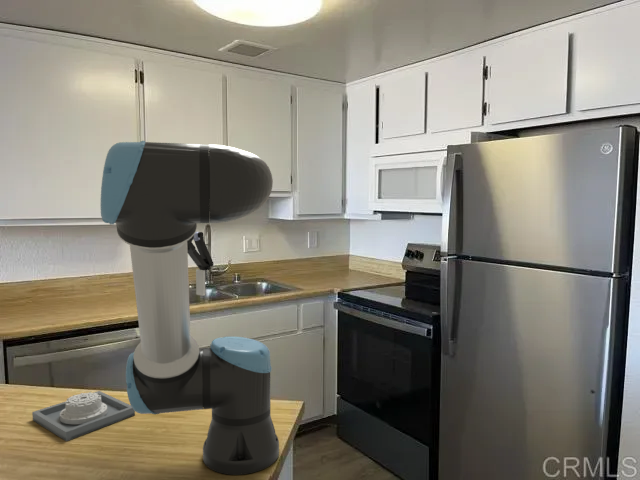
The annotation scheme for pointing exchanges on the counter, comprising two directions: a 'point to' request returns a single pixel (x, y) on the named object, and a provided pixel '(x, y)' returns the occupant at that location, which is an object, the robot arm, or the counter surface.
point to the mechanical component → (83, 408)
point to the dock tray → (52, 422)
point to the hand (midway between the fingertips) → (179, 299)
